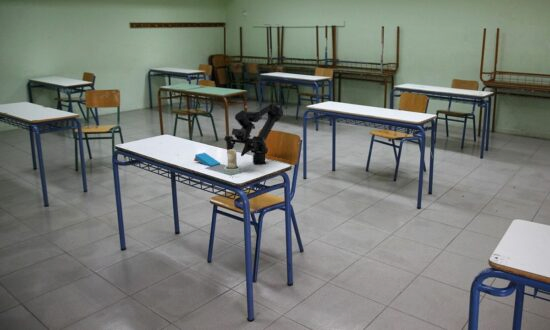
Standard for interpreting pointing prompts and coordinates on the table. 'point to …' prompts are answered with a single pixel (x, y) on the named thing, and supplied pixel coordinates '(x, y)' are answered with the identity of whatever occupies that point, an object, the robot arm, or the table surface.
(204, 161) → the blue long block
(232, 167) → the birch peg
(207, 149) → the table surface
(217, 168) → the thin grey base plate
